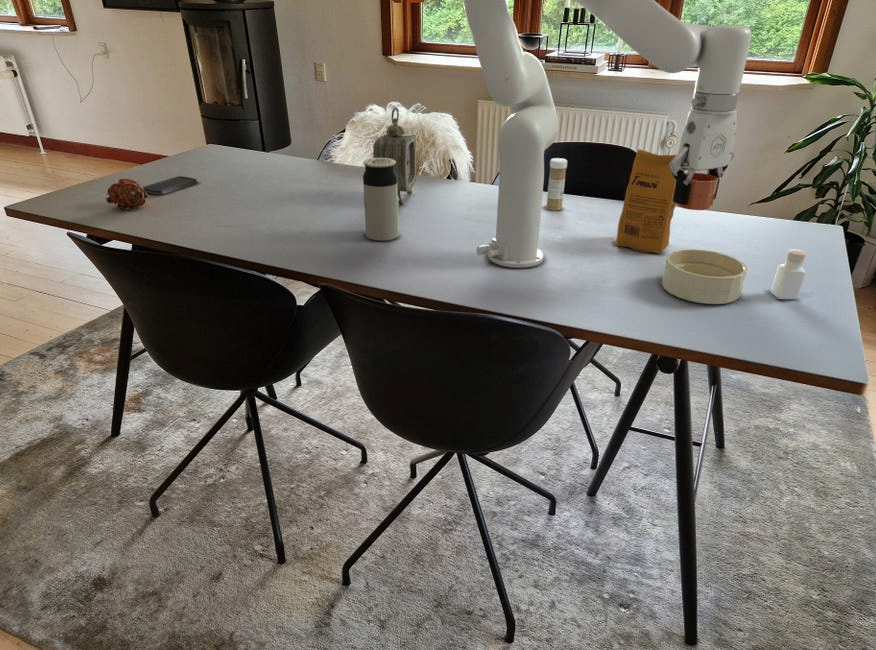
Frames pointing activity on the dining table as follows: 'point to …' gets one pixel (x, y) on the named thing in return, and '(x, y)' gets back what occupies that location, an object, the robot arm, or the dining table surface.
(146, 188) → the phone
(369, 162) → the travel mug
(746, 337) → the dining table surface
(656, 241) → the coffee package
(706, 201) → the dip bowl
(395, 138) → the weathered lantern
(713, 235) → the dining table surface
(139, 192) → the brown knobby oval lump
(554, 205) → the sprinkles bottle
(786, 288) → the pepper shaker
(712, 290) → the serving bowl
